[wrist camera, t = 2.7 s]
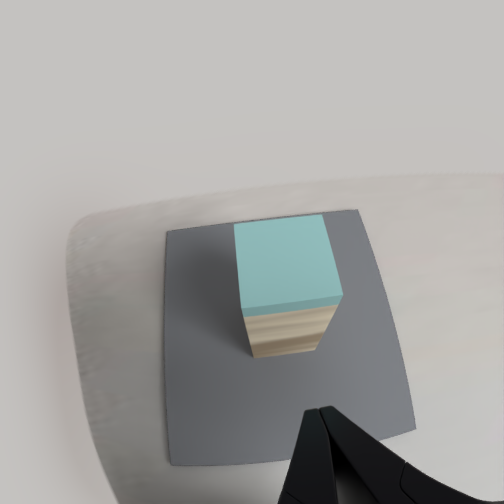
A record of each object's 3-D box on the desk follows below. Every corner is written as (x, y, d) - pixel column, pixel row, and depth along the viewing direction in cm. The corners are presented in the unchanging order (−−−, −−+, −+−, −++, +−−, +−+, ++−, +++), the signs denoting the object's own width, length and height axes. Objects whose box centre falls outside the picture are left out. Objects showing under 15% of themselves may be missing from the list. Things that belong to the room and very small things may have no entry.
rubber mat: (413, 429, 16) (416, 428, 16) (172, 464, 16) (170, 465, 16) (356, 213, 26) (357, 209, 25) (169, 234, 26) (167, 231, 25)
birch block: (314, 350, 19) (343, 294, 12) (253, 358, 19) (241, 308, 12) (304, 295, 22) (321, 214, 14) (247, 302, 22) (233, 224, 14)
